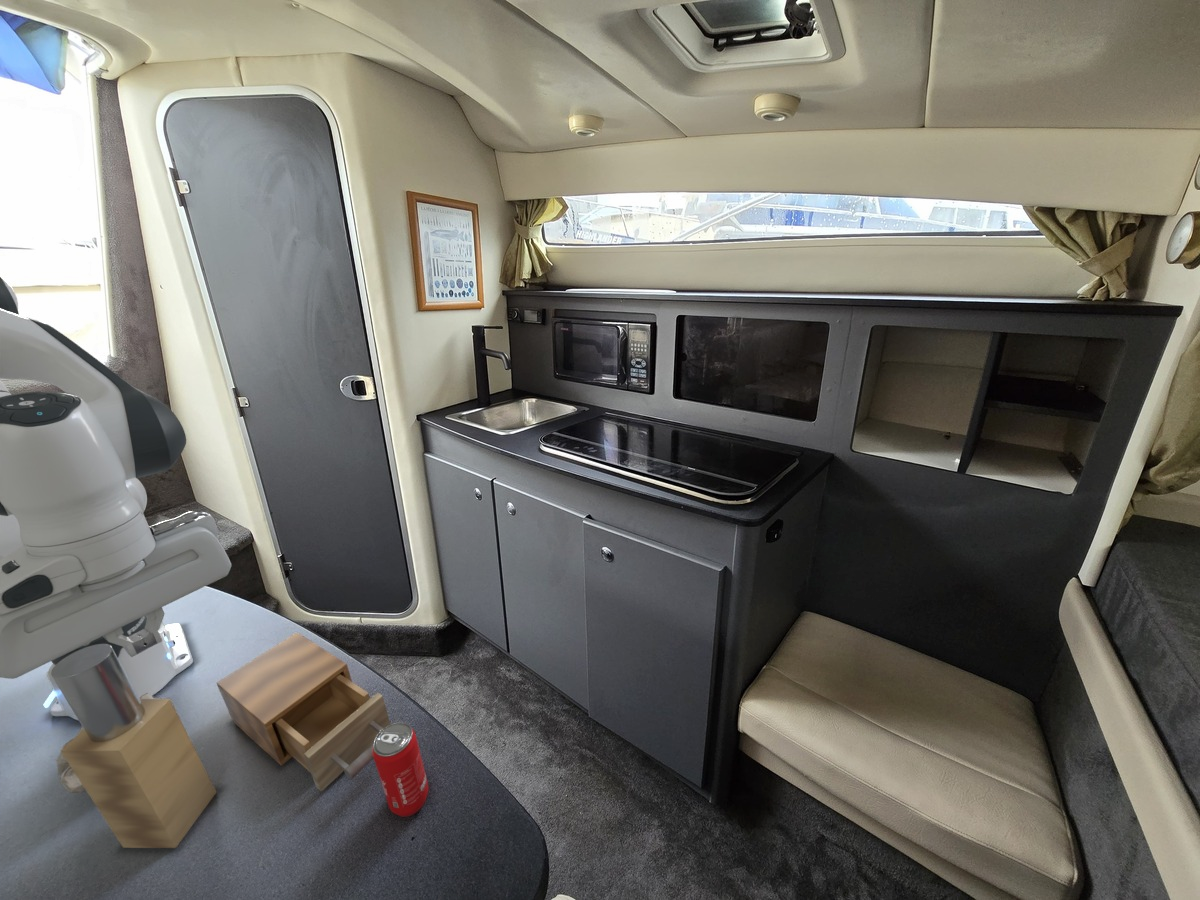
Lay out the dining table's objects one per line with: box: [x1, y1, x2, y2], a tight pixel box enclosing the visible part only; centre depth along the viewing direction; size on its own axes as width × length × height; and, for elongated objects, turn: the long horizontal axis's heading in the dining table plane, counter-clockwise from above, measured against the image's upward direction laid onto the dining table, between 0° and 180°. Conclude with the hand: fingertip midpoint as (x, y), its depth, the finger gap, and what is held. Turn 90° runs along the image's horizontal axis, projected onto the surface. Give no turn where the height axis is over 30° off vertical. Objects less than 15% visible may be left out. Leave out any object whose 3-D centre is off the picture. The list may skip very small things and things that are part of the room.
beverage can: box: [373, 721, 429, 818], centre depth 65 cm, size 5×5×12 cm
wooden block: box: [60, 698, 217, 849], centre depth 63 cm, size 7×7×18 cm
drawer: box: [272, 674, 392, 792], centre depth 73 cm, size 18×11×7 cm, turn 59°
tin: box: [51, 644, 145, 742], centre depth 58 cm, size 5×5×10 cm
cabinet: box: [216, 631, 353, 766], centre depth 79 cm, size 15×13×9 cm
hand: (145, 647), depth 57 cm, fingers closed
